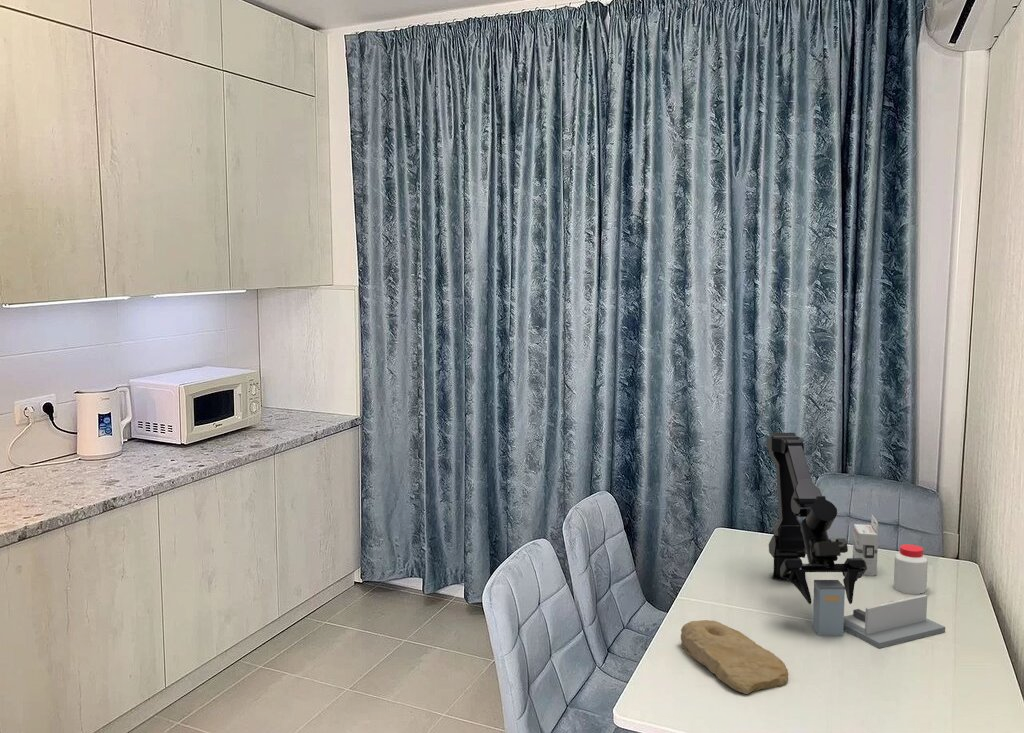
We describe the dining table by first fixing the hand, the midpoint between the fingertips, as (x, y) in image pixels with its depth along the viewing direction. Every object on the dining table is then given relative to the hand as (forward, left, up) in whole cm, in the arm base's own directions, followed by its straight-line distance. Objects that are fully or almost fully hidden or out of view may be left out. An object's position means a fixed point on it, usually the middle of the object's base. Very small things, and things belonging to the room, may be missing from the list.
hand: (830, 603), depth 194 cm
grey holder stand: (+12, +9, -7) cm, 17 cm away
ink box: (+2, +46, -7) cm, 47 cm away
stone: (-16, -26, -8) cm, 31 cm away
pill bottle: (+14, +37, -7) cm, 41 cm away
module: (-1, +1, -7) cm, 7 cm away
